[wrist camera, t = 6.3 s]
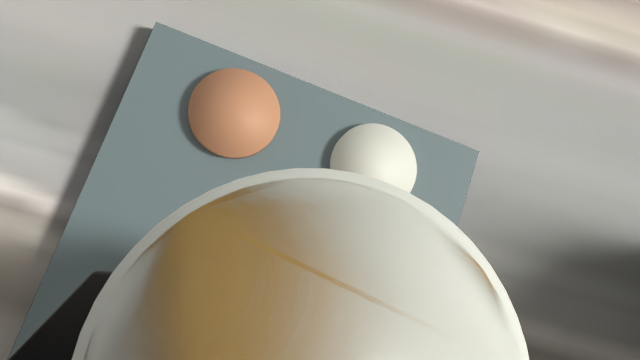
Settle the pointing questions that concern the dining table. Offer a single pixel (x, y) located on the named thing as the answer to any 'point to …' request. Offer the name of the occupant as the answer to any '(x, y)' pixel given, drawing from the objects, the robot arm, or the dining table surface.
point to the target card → (228, 152)
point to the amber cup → (303, 279)
